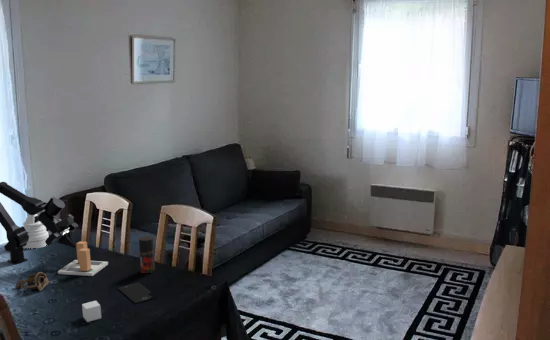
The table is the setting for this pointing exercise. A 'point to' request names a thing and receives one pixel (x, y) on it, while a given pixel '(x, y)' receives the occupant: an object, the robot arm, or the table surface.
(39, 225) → the honey pot
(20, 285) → the brown ringed piece
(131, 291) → the cell phone
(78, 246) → the tab
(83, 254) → the tab
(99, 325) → the table surface
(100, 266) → the switch bank
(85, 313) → the white cube
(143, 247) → the deodorant
